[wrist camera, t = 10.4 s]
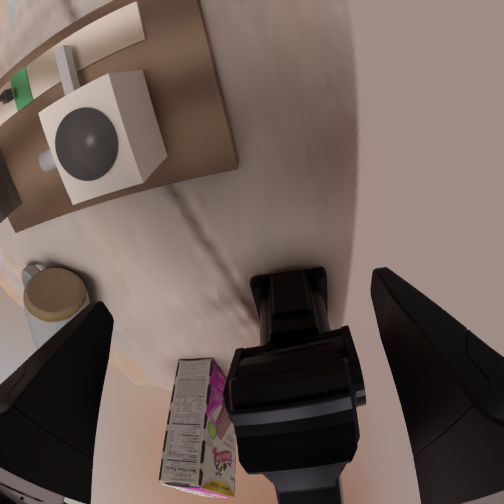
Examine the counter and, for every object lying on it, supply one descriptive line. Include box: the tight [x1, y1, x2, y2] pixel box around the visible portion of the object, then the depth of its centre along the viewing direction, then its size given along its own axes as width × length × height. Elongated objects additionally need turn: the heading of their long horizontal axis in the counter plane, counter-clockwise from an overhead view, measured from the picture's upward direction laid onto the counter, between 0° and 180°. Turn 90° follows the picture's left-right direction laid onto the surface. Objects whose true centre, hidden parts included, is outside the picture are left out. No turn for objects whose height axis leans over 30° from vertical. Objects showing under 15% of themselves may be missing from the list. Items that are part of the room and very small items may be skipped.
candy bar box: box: [158, 358, 236, 498], centre depth 29 cm, size 11×5×16 cm, turn 14°
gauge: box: [38, 45, 168, 205], centre depth 13 cm, size 10×8×5 cm
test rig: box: [0, 0, 238, 233], centre depth 13 cm, size 14×23×7 cm, turn 101°
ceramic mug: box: [21, 265, 90, 350], centre depth 23 cm, size 11×8×8 cm
